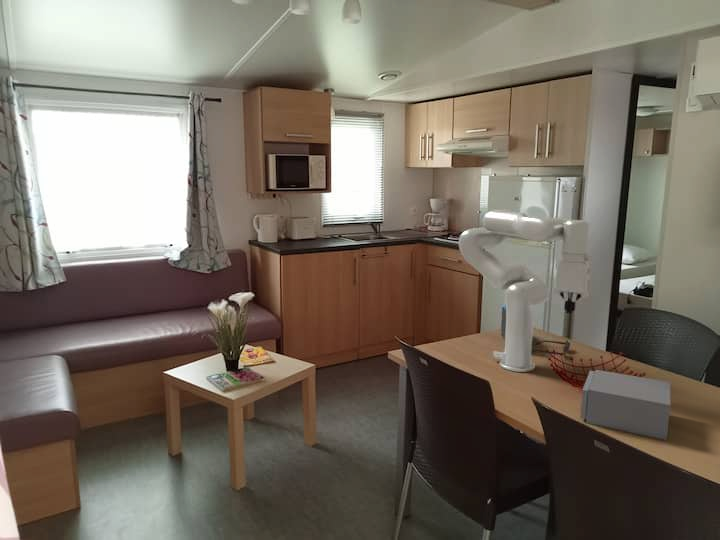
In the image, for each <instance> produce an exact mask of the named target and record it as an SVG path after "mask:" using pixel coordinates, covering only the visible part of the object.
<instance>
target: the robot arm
mask: <svg viewBox="0 0 720 540" xmlns="http://www.w3.org/2000/svg"><path fill="white" fill-rule="evenodd" d="M482 225H483V227H473V228H469V229H466V230H464V231H463V232H461V234H460V235H459V238H458V248H459V251H460V253H461V256H462V257H463V259H464V260H465V261H466V262H467V263H468V264H469V265H470V266H471V267H473V268H474V269H475V270H476V271H478V273H479V274H480V275H482V277H484V279H485V280H487V281H488V282H489V284H491V286H493V287H494V288H496V289H498V290H505V292H504V303H505V305H506V333H505V340H504V351H496V350H493V351H492V356H493V357H494V359H500V360H499V366H500V367H501V368H502V369H505V370H507V371H512V372H520V373H521V372H523V373H526V372H531V371H533V370H535V369H536V364H535V362H534V361H532V354H531V352H532V351H533V335H534V334H533V331H534V316H533V314H532V311H531V308H533V307H536V306H541V305H542V304H545V302H547V301H548V299H549V297H550V291H549V288H548V286H547V284H546V283H545V282H544V280H542V279H541V278H540V277H539V276H537V274H535V273H534V272H533V271H532V270H530V268H528V267H527V266H526V265H524V264H522V263H519V262H507V263H506V262H503V261H501V260H500V259H499V258H498V257H496V256H495V255H494V254H493V253H491V252H489V251H488V249H492V248H496V247H498V246H499V245H500V244H501V243H502V242H503V241H504V240H505V239H507V238H508V237H509V236H513V237H518V238H520V239H524V240H527V241H528V240H529V241H535V242H540V243H541V242H543V243H544V242H553V241H562V243H561V244H562V248H561V257H560V258H561V260H559V261H558V265H557V269H556V274H555V278H554V290H553V293H554V294H556V295H558V296H560V297H561V298H562V299H563V301H564V311H565V313H566V314H569V315H570V314H572V313H573V312H575V310H576V302H577V301H578V300H579V299H580V298H581V299H582V298H588V297H589V294H590V293H589V288H590V265H589V262H587V261H591V260H592V256H591V255H588V242H589V240H588V239H589V231H590V230H589V229H590V224H589V222H588V221H586V220H581V219H569V218H566V217H565V218H564V217H551V218H550V217H549V218H548V217H547V218H538V217H537V218H535V217H528V216H527V214H526V213H524V212H519V211H517V212H516V211H514V210H513V209H507V208H506V209H505V208H504V209H491V210H490V211H488V212H486V213H485V214H484V215H483V218H482ZM485 249H487V250H485ZM570 293H572V297H571V298H570Z"/></svg>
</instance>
